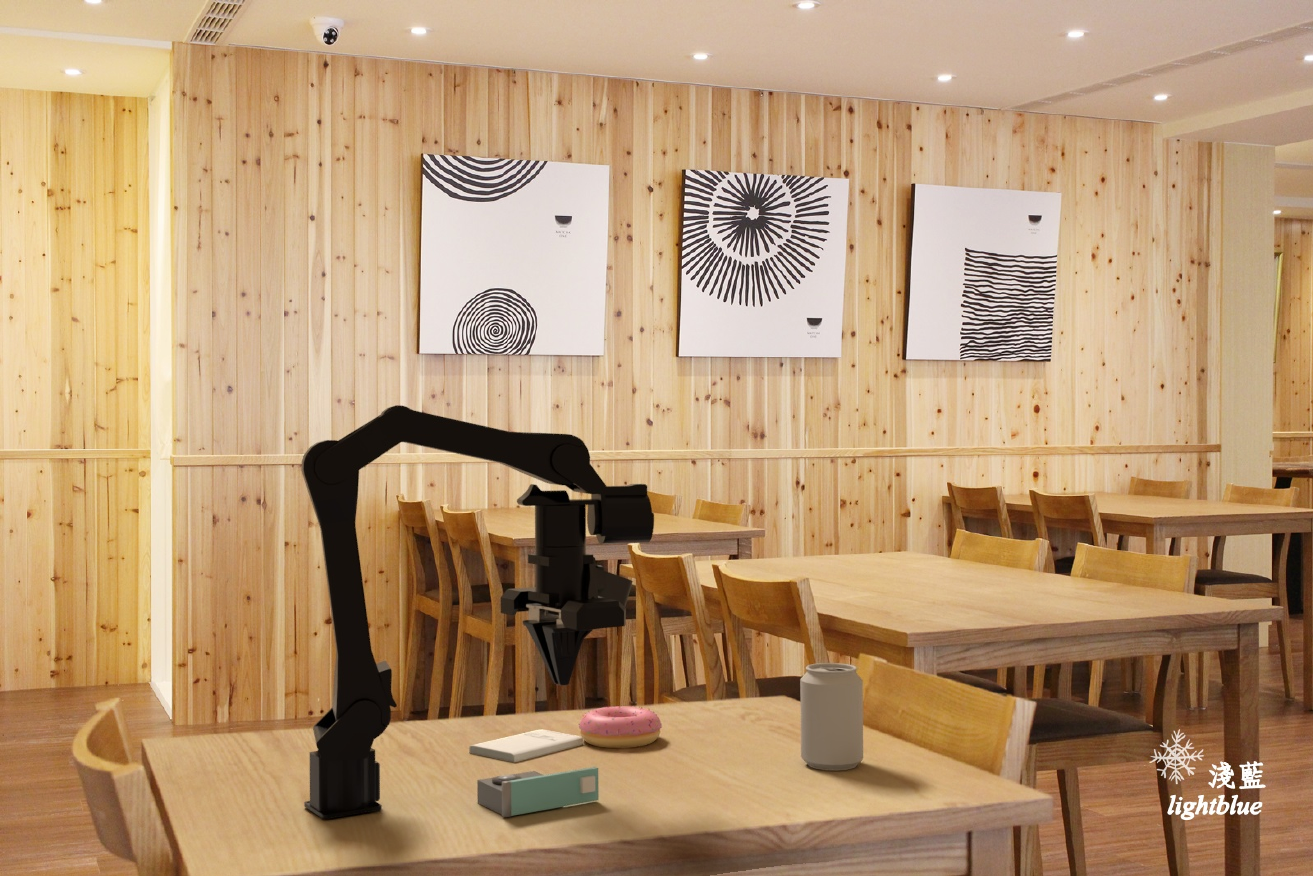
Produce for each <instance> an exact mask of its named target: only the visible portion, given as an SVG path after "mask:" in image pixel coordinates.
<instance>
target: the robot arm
mask: <svg viewBox="0 0 1313 876" xmlns="http://www.w3.org/2000/svg"><path fill="white" fill-rule="evenodd" d="M400 443H406V444H410V445H414V446H419V447H424V448H429V449H434V450H437V451H443V452H446V453H452V454H456V455H461V456H465V457H471V458H476V459H479V460H480V459H481V460H483V461H484V460H485V461H489V462H493V463H498V464H501V465H503V466H505V467H508V468H510V469H512V470H515V471H517V472H519V473H521V474H524V475H526V476H529V477H531V478H534V479H536V480H538V481H541V482H543V483H546V484H549V485H557V486H565V487H566V488H568V489H569V490H571V491H572V492H574V493H581V494H587V495H590V497H591V498H584V499H583V498H582V499H581V498H579V499H576V498H575V499H572V498H570V496H569V493H568V492H567V490H561V489H560V490H542V489H541V488H540V487H539V486H538V485H537V484H532V483H531V484H529V486H528V488H527V490H526V491H525V492H524V493H522V495H520V496H519V497H518V498H517V499H516V503H517V504H518V505H520V506H524V507H533V506H534V544H535V546H534V552H535V553H529V554H527V563H528V564H531V565H534V568H535V571H534V575H535V576H534V577H535V578H534V579H535V580H534V581H535V584H534V586H533V587H532V586H531V587H518V588H507V589H506V591H504V592H503V594H502V595H501V596H500V614H504V615H509V616H516V614H517V613H520V612H521V613H522V612H528V619H525V620H522V625H523V626H525V628H526V629H527V631H528V633H529V635H530V637H531V639H532V640H533V643H534V644H535V647H536V648H537V650H538V652H539V654H540V657H541V659H542V661H543V663H544V665H545V668H546V669H547V671H548V674H549V676H550V678H551V680H552V683H553V684H555V685H558V686H562V687H563V686H568V685H569V683H570V681H571V678H572V675H573V672H574V668H575V665H576V662H577V658H578V656H579V653H580V649H581V647H582V644H583V642H584V639H586V637H587V636H588V635H589V634H590V633H592V632H593V631H594V630H599V629H611V628H621V627H622V628H623V627H625V626H627V620H626V619H627V618H626V617H627V616H626V615H627V611H626V610H627V608H626V606H627V602H628V599H629V595H630V592H631V588H632V584H633V580H631V579H629V578H626V577H623V576H621V575H618V574H615V573H613V572H609V571H607V570H606V569H605V567H604V566H603V565H598V564H596V561H597V560H596V557H594V554H593V553H592V554H590V553H587V531H586V529H587V530H588V533H589V535H590V536H596V540H597V542H598V544H600V545H615V544H616V545H617V544H619V545H620V544H621V545H622V544H648V543H650V542H651V540H652V537H653V536H654V535H653V534H654V529H655V528H654V527H655V514H654V512H653V509H652V504H651V503H652V502H651V500H650V497H649V495H648V485H647V484H644V483H630V484H626V485H607V484H606V483H605V482H604V481H603V479H602V478H601V476H600V475H599V474H598V472H597V471H596V470H595V468H594V467H593V466H592V465H591V456H590V452H589V451H590V450H589V449H588V447H587V445H586V443H585V442H584V440H582V439H581V438H580V437H578V436H576V435H573V434H568V433H550V432H549V433H547V432H522V431H521V432H520V431H518V432H517V431H507V430H504V429H499V428H494V427H492V426H491V427H490V426H487V425H486V426H485V425H482V424H476V423H473V422H472V423H471V422H469V421H468V422H467V421H463V420H459V419H454V418H450V417H445V416H441V415H436V414H432V413H429V412H428V413H427V412H422V411H419V410H414V409H412V408H410V407H408V406H405V405H400V404H398V405H396V404H395V405H393V406H390V407H387V408H385V409H384V410H383V411H381V413H380V414H379V415H377V416H376V417H375V418H373V419H371V420H370V421H368V422H366V423H365V424H362V425H361V426H360V427H358V428H356V429H354V430H353V431H351V432H350V433H348V434H346V435H345V436H343V437H341V438H340V439H338V440H335V439H333V440H332V439H326V440H321V441H318V442H316V443H314V444H312V445H311V446H310V447H309V448H307V450H306V451H305V453H304V455H302V459H301V475H302V477H303V480H304V483H305V487H306V489H307V492H308V495H309V499H310V502H311V505H312V508H313V510H314V514H315V516H316V520H317V523H318V525H319V531H320V536H321V537H320V539H321V544H322V545H321V547H322V552H323V553H322V554H323V561H324V568H325V576H326V577H325V578H326V583H327V592H328V599H329V607H330V614H331V621H332V630H333V637H334V644H335V645H334V646H335V661H334V662H335V663H334V671H333V686H332V687H333V688H332V689H333V690H332V706H331V707H330V709H329V710H328V711H327V712H326V713H325V714H324V715H323V716H322V717H321V718H320V719H319V720H318V721H317V722H316V723H315V724H314V725H313V726H312V730H313V736H314V741H315V745H316V749H317V750H315V751H310V752H309V800H307V801H304V802H303V803H304V805H303V806H304V808H305V809H308V811H311V812H312V813H314V814H315V815H316V816H318V817H319V818H320V819H323V820H327V819H334V818H341V817H342V818H343V817H347V816H351V815H359V814H364V813H370V812H377V811H381V810H382V809H383V808H382V807H383V806H382V804H381V803H379V801H380V799H381V782H380V781H381V774H380V772H381V771H380V770H381V764H380V762H378V761H376V749H374V748H372V747H373V744H374V741H375V739H377V738H378V737H380V736H381V735H382V734H384V733H385V730H386V729H387V728H388V726H389V725H390V722H391V719H392V716H391V715H392V709H391V707H392V708H397V707H398V705H397V703H396V701H395V699H394V697H393V693H392V681H393V680H392V678H393V676H392V675H393V670H392V667H390V665H389V663H388V662H387V660H383V661H380V662H378V663H377V662H376V659H375V656H374V653H373V650H372V643H371V637H370V628H369V621H368V613H367V612H368V611H367V605H366V597H365V590H364V583H363V575H362V574H363V573H362V567H361V566H362V565H361V559H360V551H359V545H358V544H359V543H358V535H357V528H356V521H357V520H356V519H357V509H358V508H357V507H358V497H359V496H358V495H359V482H360V480H359V479H360V470H361V469H363V468H364V467H365V468H366V466H367V465H369V464H370V463H372V462H374V461H375V460H377V459H378V458H379V457H381V456H383V455H385V453H387V452H389V451H390V450H391V449H393V448H394V447H397V446H398V445H399V444H400ZM586 507H587V508H586ZM586 522H587V523H586ZM586 527H587V528H586Z"/></svg>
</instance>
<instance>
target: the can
mask: <svg viewBox="0 0 1313 876" xmlns="http://www.w3.org/2000/svg"><path fill="white" fill-rule="evenodd" d="M805 670H806V672H805V673H804V675H803V676H802V677H801V678H800V679H799V681H800V683H799V685H800V686H799V687H800V688H799V689H800V696H799V697H800V757H801V759H802V760H803V762H805V763H806V764H807V765H808V766H807V767H810V768H812V769H817V770H822V771H832V772H833V771H847V770H851V769H855V768H857V766H858V765H859V764H860V762H862V761H863V759H864V702H863V701H864V694H863V693H864V689H863V687H864V684H863V683H864V680H863V679H862V677H860V676H859V674H858V673H857V670H858V667H857V666H856V665H853V664H847V663H838V662H837V663H836V662H820V663H819V662H818V663H812V664H808V665H806V667H805Z"/></svg>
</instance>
